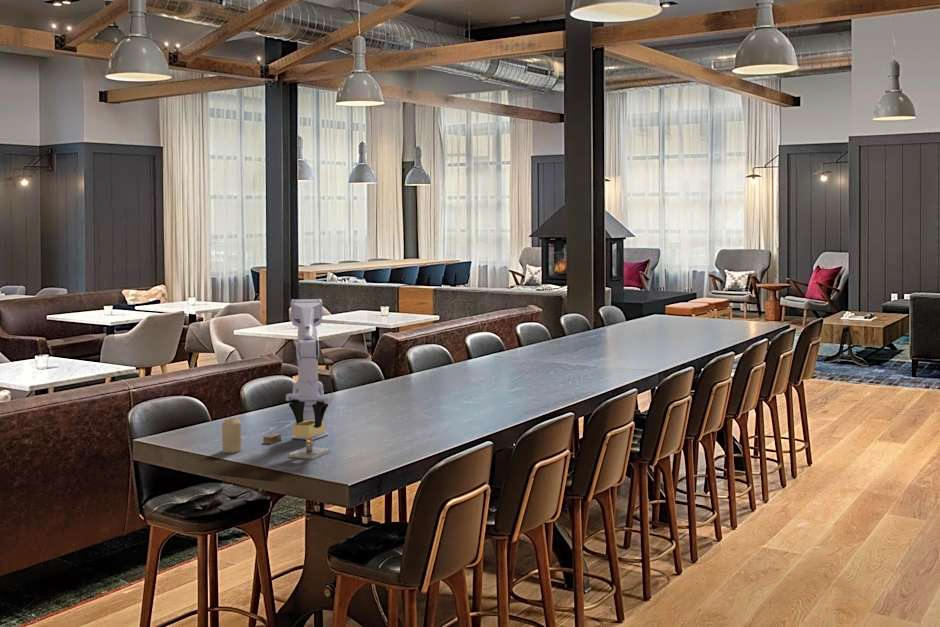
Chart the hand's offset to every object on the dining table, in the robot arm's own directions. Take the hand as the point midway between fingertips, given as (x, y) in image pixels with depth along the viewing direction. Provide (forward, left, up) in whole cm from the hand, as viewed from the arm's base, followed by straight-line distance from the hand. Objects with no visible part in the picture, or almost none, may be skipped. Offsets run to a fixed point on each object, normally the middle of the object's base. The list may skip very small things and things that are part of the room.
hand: (309, 426), depth 298 cm
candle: (+5, -24, -9) cm, 26 cm away
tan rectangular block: (-10, -20, -8) cm, 24 cm away
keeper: (0, 0, -8) cm, 8 cm away
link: (0, 0, -2) cm, 2 cm away
